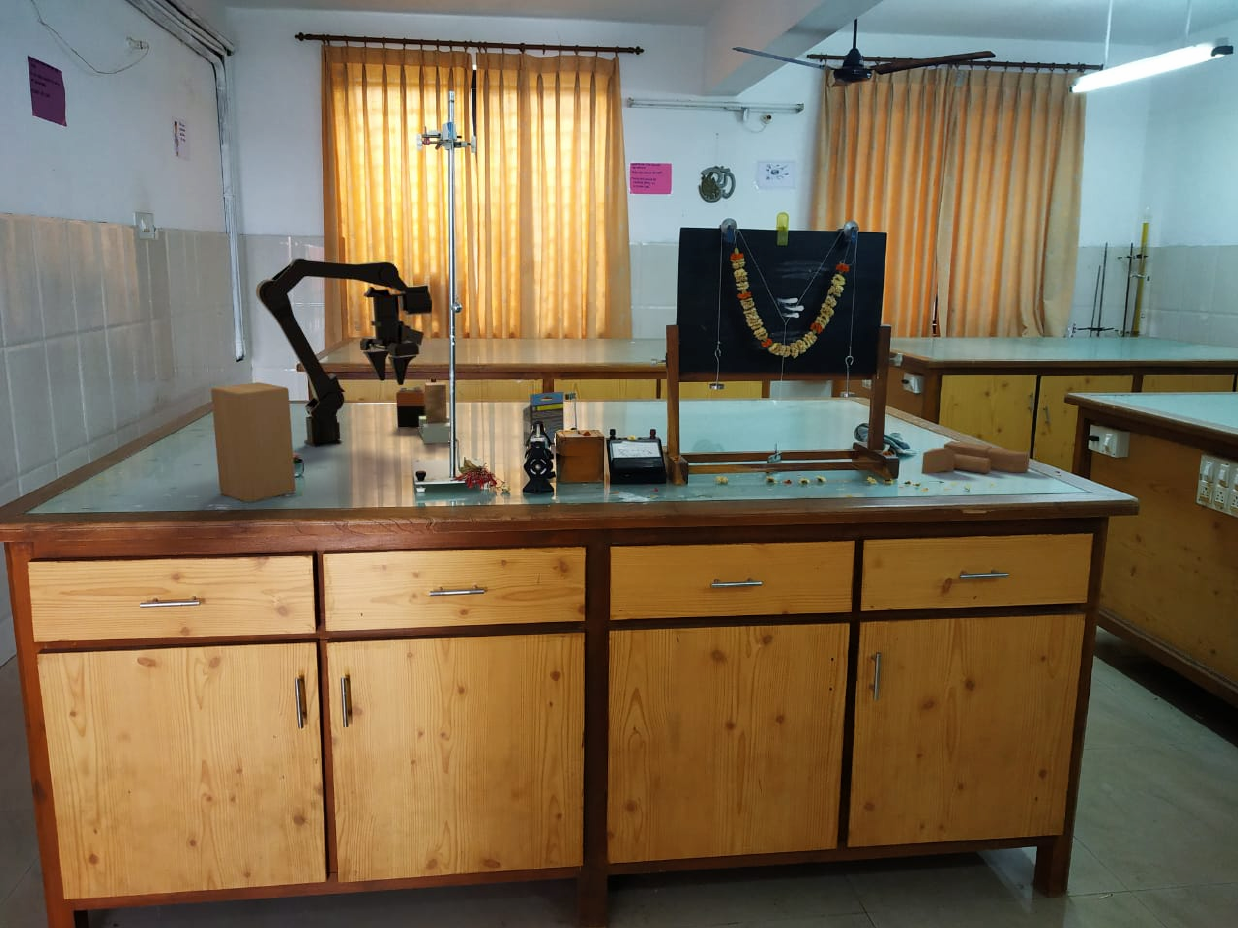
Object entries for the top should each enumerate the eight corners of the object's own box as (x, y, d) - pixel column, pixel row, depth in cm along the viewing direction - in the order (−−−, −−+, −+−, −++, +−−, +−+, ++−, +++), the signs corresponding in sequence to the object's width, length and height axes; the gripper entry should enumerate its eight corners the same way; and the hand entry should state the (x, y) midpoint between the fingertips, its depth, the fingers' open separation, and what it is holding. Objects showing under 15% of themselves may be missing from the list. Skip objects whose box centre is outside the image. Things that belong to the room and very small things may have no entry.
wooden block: (268, 483, 185) (260, 381, 180) (296, 492, 178) (289, 387, 174) (219, 493, 177) (209, 387, 172) (247, 503, 171) (238, 393, 166)
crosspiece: (455, 442, 223) (454, 425, 222) (425, 444, 221) (424, 427, 220) (447, 430, 236) (447, 415, 235) (419, 432, 234) (418, 416, 233)
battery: (424, 428, 239) (423, 388, 237) (397, 428, 239) (395, 388, 236) (426, 424, 243) (425, 386, 241) (400, 424, 243) (398, 386, 240)
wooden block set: (946, 435, 211) (1031, 447, 200) (944, 460, 212) (1028, 473, 202) (918, 447, 198) (1007, 460, 187) (916, 474, 199) (1004, 488, 189)
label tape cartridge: (556, 440, 227) (556, 389, 224) (564, 443, 224) (564, 391, 221) (523, 444, 222) (522, 392, 219) (530, 447, 219) (530, 394, 216)
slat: (428, 435, 226) (426, 385, 223) (426, 432, 229) (424, 382, 226) (447, 434, 227) (445, 384, 224) (445, 431, 231) (443, 382, 228)
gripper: (437, 316, 219) (441, 383, 223) (398, 311, 233) (403, 374, 237) (393, 320, 212) (398, 389, 216) (356, 314, 226) (361, 379, 230)
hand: (391, 382), depth 225 cm, fingers open, 9 cm apart
